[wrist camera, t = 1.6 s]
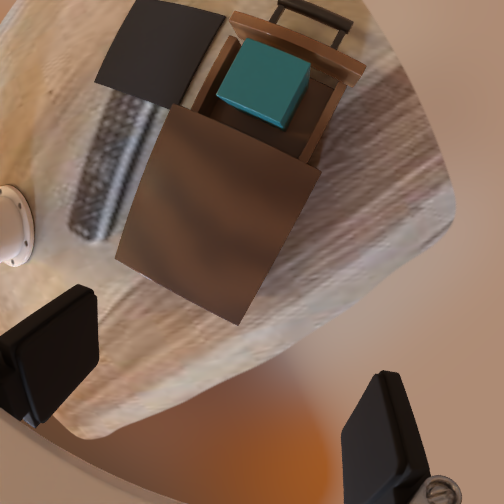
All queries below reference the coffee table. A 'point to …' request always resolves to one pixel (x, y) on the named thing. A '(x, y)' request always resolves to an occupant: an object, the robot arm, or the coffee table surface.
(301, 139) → the drawer
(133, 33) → the mat
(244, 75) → the box
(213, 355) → the coffee table surface
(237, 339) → the coffee table surface
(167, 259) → the cabinet
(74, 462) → the robot arm
